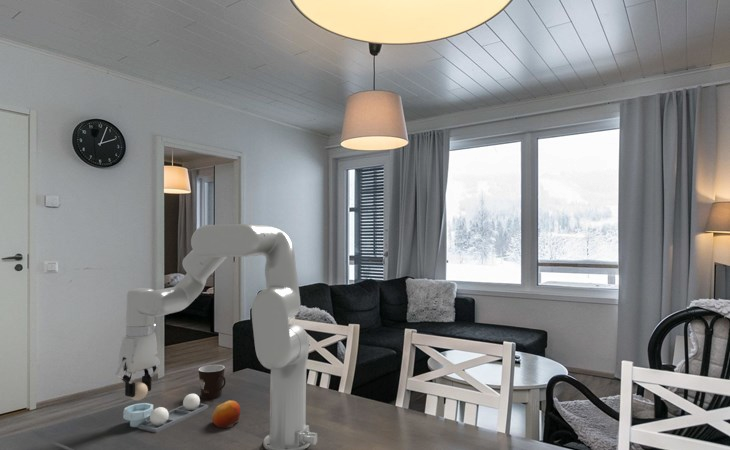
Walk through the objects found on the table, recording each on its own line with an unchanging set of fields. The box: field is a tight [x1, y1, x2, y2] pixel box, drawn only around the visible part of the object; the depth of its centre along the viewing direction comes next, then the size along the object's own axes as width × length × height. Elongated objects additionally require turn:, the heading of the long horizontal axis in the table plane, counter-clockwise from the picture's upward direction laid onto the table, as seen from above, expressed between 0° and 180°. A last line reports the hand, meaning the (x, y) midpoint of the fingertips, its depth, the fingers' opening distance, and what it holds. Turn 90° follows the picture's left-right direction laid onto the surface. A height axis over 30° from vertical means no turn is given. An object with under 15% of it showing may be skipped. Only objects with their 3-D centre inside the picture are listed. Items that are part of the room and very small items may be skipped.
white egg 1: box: [149, 406, 169, 426], centre depth 132 cm, size 5×5×5 cm
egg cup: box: [122, 402, 154, 428], centre depth 132 cm, size 8×8×5 cm
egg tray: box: [137, 402, 209, 434], centre depth 137 cm, size 7×20×1 cm, turn 157°
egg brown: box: [129, 381, 149, 401], centre depth 133 cm, size 5×5×5 cm
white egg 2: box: [182, 393, 201, 410], centre depth 144 cm, size 5×5×5 cm
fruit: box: [211, 400, 241, 429], centre depth 133 cm, size 8×8×8 cm
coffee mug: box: [198, 364, 226, 400], centre depth 155 cm, size 12×9×10 cm
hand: (138, 392), depth 133 cm, fingers closed on egg brown, 4 cm apart
